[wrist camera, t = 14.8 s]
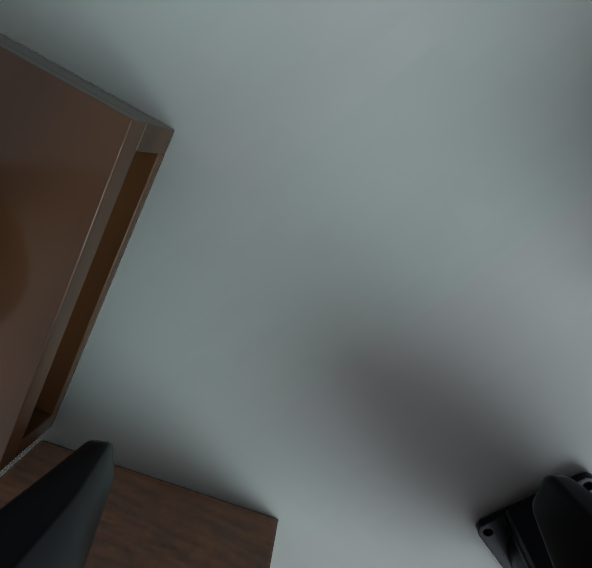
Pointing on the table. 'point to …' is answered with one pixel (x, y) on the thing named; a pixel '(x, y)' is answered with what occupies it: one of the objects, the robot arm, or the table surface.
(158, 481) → the tissue box cover
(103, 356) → the table surface
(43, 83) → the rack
